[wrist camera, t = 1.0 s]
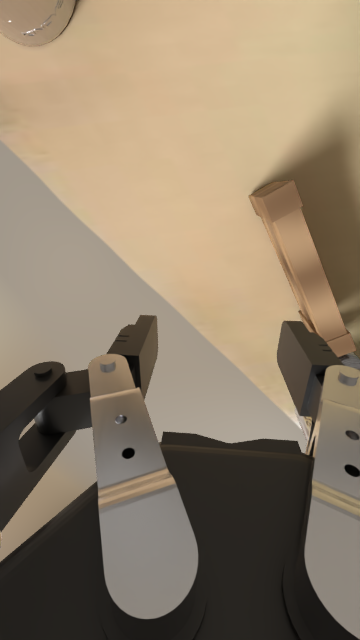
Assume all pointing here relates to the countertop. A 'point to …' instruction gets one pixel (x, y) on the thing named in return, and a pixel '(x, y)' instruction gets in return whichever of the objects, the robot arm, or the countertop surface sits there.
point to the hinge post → (350, 360)
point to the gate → (301, 263)
